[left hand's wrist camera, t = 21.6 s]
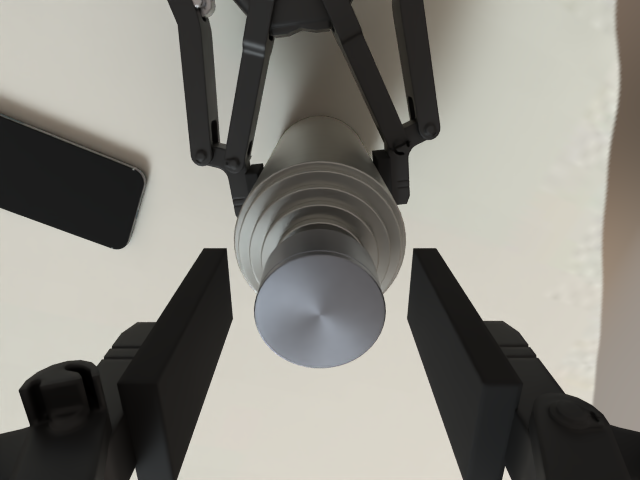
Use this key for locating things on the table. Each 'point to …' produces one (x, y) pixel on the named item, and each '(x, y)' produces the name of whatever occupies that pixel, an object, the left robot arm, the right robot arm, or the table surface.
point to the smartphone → (68, 185)
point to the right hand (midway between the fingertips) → (328, 256)
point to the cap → (319, 300)
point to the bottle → (319, 199)
